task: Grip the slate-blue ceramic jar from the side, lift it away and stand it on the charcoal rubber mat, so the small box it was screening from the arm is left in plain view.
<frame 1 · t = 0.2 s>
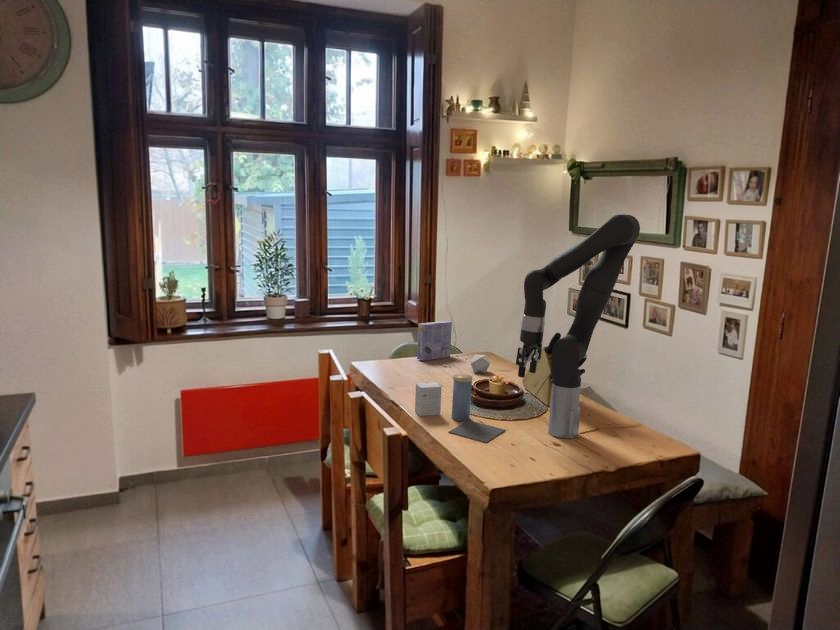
hand: (526, 374, 215), 18 cm above the table, tool pointing down, fingers open, 8 cm apart
small box: (427, 413, 226), on the table
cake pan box: (434, 358, 305), on the table
jar: (460, 418, 222), on the table
die: (479, 372, 283), on the table
mat: (477, 431, 209), on the table
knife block: (550, 400, 247), on the table
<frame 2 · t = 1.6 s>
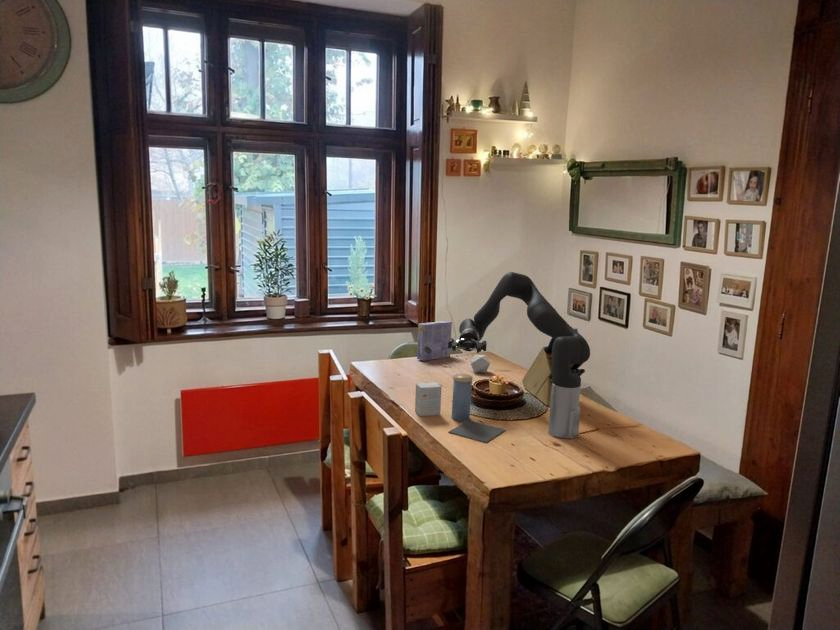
hand: (466, 349, 228), 22 cm above the table, tool horizontal, fingers open, 8 cm apart
nothing on the table moved.
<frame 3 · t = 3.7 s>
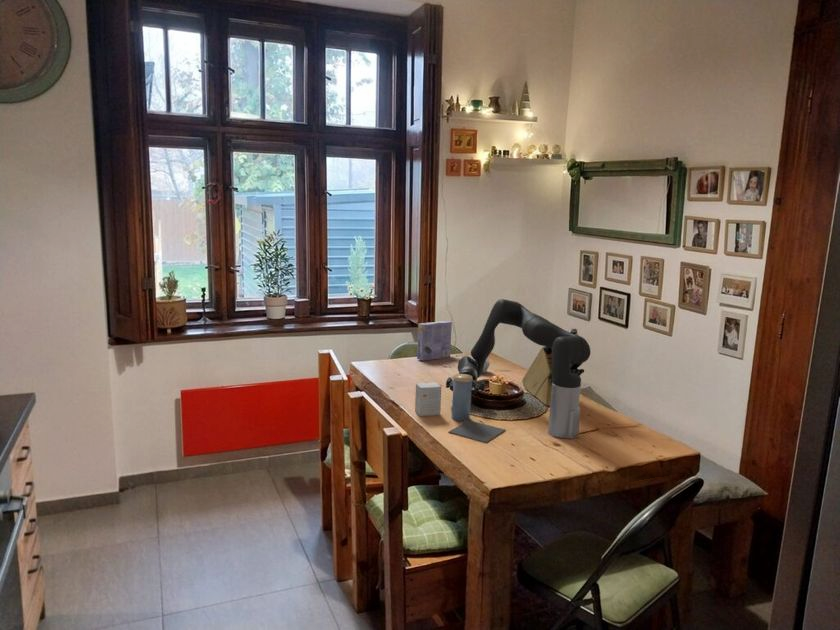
hand: (464, 389, 228), 8 cm above the table, tool horizontal, fingers open, 8 cm apart
nothing on the table moved.
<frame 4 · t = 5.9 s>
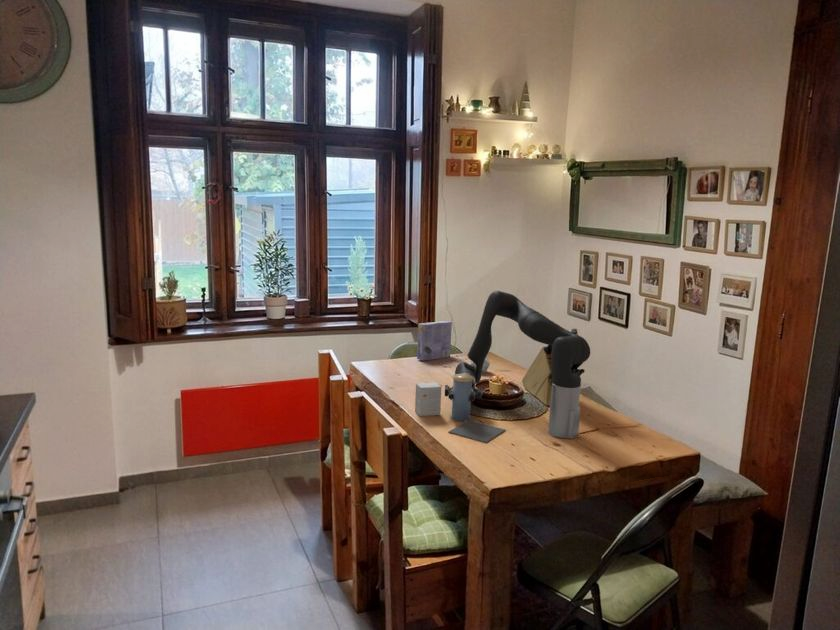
hand: (461, 398, 218), 8 cm above the table, tool horizontal, fingers closed on jar, 6 cm apart
jar: (460, 418, 222), on the table, touching gripper
everything else where it was.
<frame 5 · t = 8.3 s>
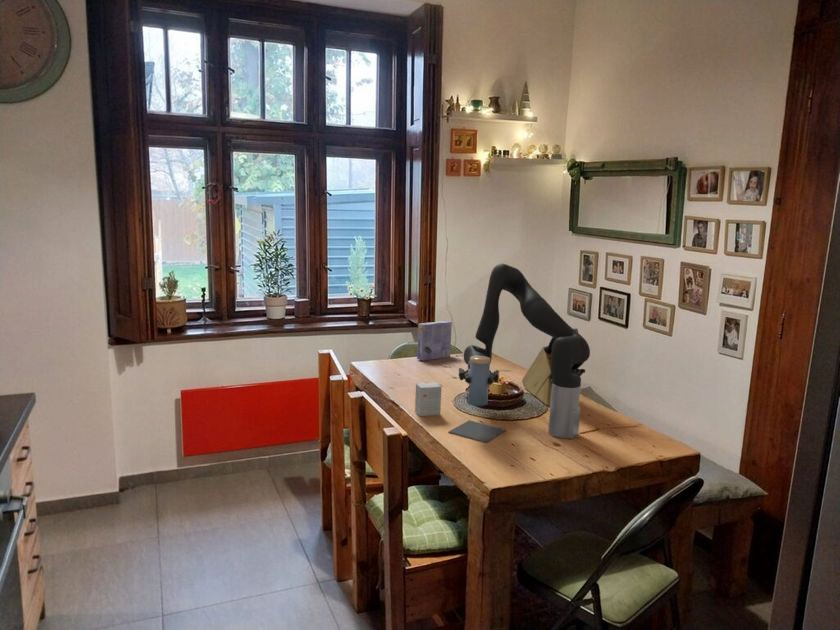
hand: (479, 381, 205), 18 cm above the table, tool horizontal, fingers closed on jar, 6 cm apart
jar: (477, 402, 209), point 10 cm above the table, touching gripper
everything else where it was.
when the fingers open (9 cm above the table, at t = 10.6 s): jar stays where it is, resting on mat.
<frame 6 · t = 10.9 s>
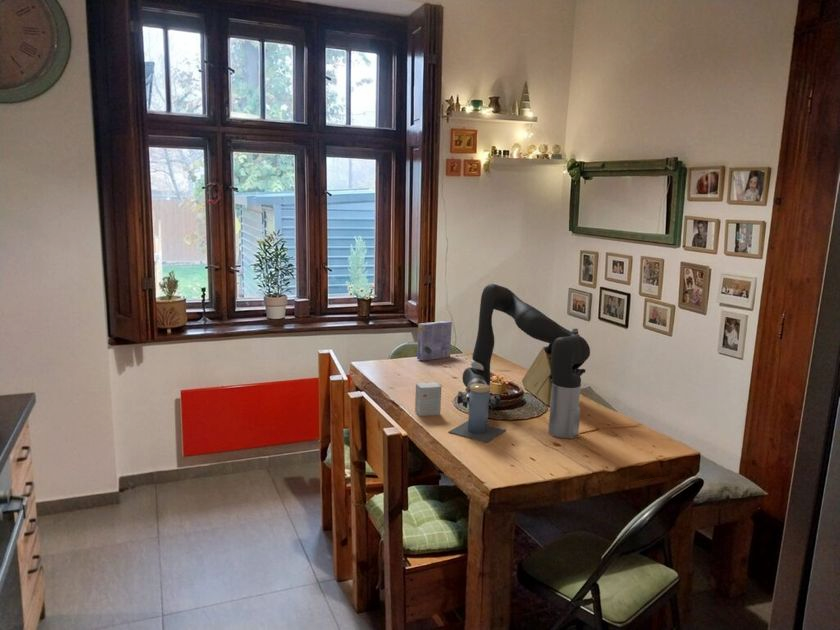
hand: (479, 405, 206), 10 cm above the table, tool horizontal, fingers open, 8 cm apart
jar: (477, 430, 209), resting on mat
everything else where it was.
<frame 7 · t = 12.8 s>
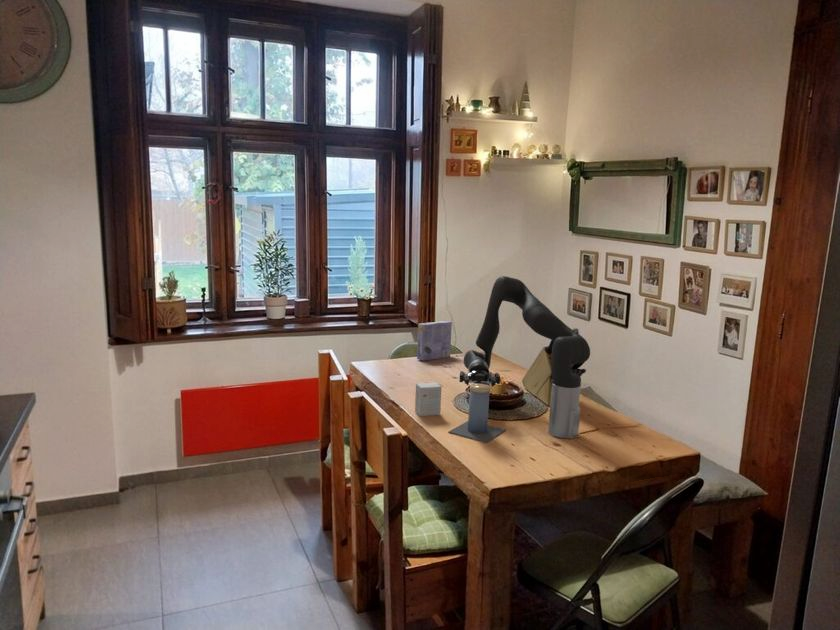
hand: (480, 383, 216), 14 cm above the table, tool horizontal, fingers open, 8 cm apart
nothing on the table moved.
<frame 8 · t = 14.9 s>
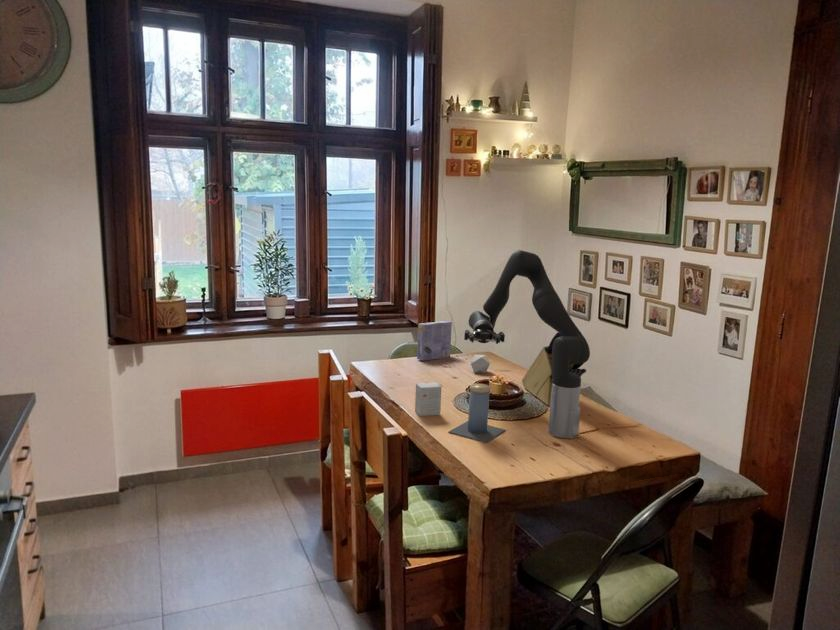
hand: (485, 340, 218), 28 cm above the table, tool horizontal, fingers open, 8 cm apart
nothing on the table moved.
at the end: jar 0.2 cm from the mat (horizontally); jar tilted 0°; small box moved 0.3 cm from its start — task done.
